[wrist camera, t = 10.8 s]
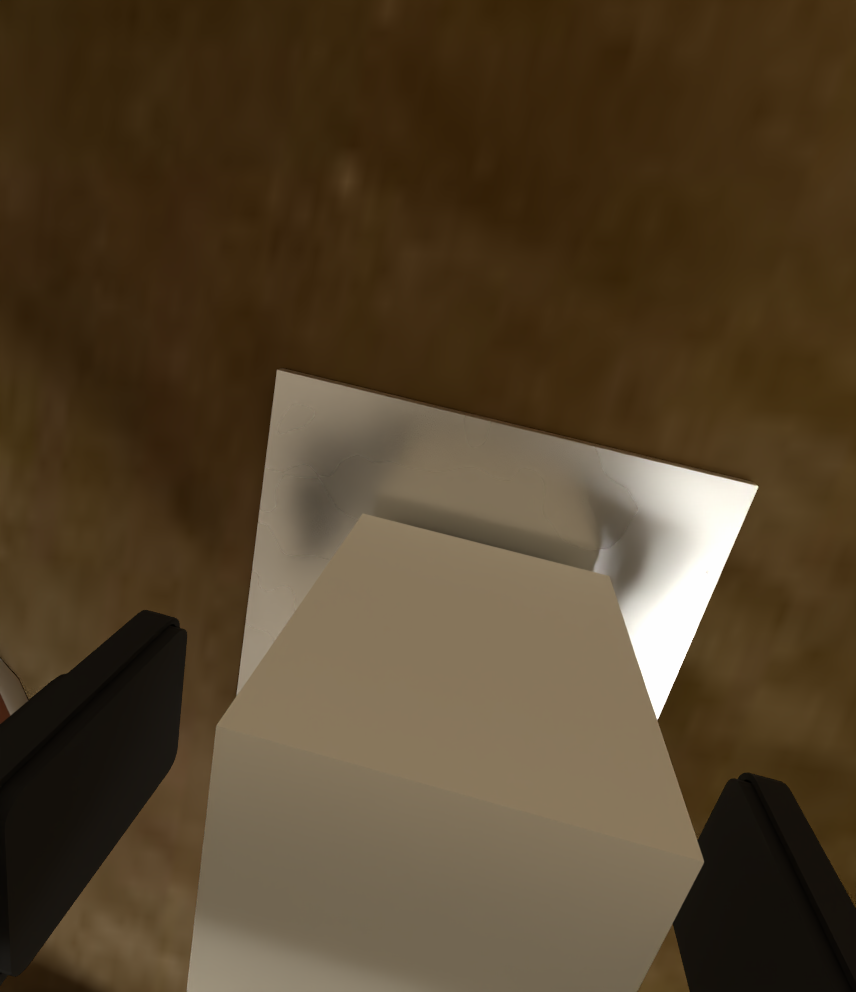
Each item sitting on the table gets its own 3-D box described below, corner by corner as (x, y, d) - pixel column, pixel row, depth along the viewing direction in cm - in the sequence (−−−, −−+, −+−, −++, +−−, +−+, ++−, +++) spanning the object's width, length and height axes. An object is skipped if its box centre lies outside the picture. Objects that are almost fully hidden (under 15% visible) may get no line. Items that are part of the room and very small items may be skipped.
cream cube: (609, 575, 12) (703, 862, 6) (539, 770, 14) (558, 1143, 8) (363, 513, 12) (216, 725, 6) (325, 711, 14) (182, 1026, 8)
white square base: (753, 481, 12) (1032, 704, 6) (601, 837, 16) (663, 1235, 9) (282, 368, 13) (32, 448, 6) (235, 735, 16) (43, 1038, 10)
